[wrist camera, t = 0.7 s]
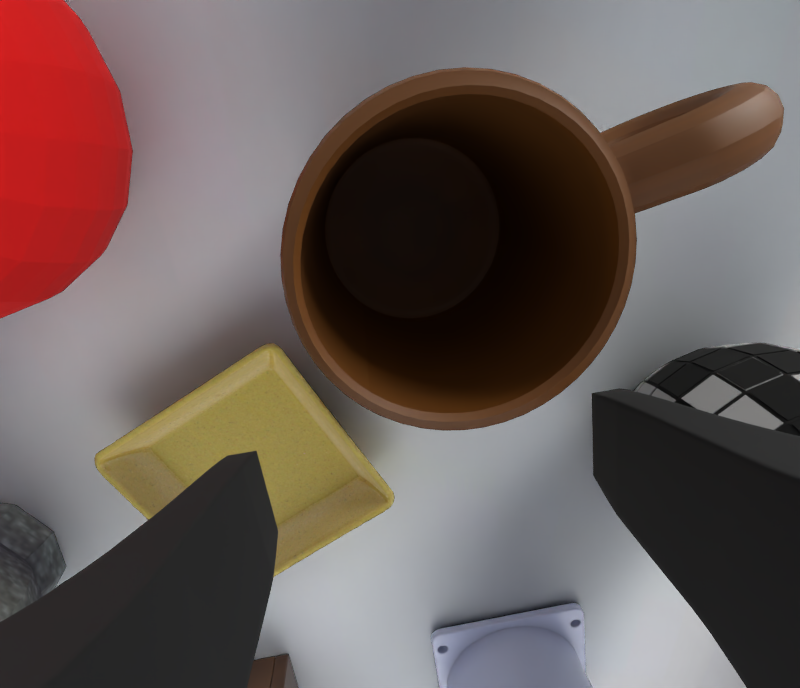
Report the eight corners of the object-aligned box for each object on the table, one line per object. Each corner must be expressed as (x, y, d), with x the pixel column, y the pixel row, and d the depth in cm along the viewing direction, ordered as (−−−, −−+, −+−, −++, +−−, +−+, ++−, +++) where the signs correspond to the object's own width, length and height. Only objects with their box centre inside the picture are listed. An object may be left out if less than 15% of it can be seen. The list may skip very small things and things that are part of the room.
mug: (578, 31, 17) (830, -144, 8) (634, 231, 19) (874, 268, 10) (274, 179, 17) (193, 169, 9) (365, 356, 20) (375, 491, 11)
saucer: (396, 475, 22) (400, 504, 20) (242, 567, 23) (231, 604, 21) (281, 322, 19) (273, 338, 17) (111, 433, 20) (84, 460, 18)
